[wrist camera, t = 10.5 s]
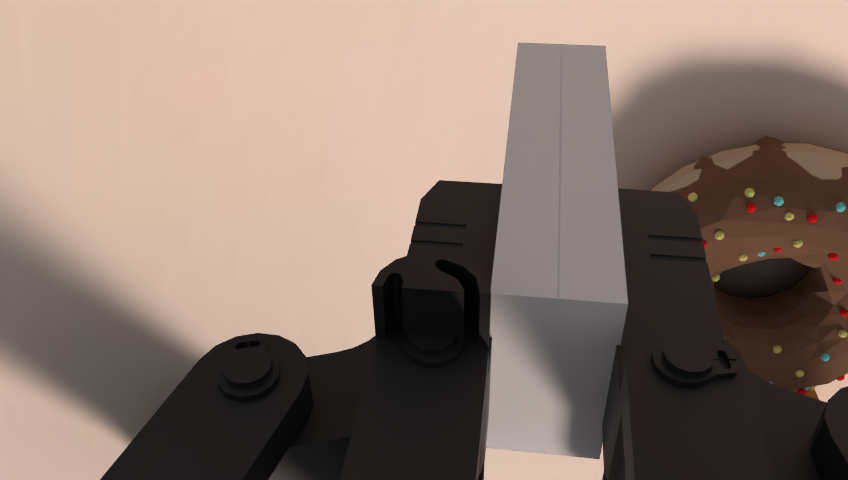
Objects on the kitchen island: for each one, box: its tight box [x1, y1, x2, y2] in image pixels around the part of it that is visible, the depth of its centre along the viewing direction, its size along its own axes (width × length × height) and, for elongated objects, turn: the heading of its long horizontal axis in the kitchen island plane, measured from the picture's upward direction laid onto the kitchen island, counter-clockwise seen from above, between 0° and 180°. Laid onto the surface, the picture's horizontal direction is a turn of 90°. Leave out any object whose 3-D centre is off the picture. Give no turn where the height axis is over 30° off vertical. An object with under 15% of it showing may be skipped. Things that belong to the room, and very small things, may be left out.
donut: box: [650, 136, 848, 395], centre depth 36 cm, size 14×14×5 cm
